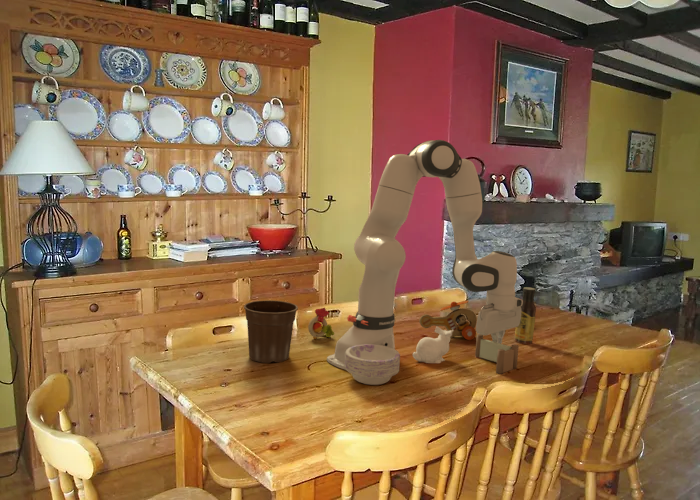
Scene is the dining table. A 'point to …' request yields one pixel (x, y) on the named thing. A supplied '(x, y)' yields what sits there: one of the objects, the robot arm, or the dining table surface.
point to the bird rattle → (317, 327)
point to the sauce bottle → (526, 318)
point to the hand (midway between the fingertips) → (497, 343)
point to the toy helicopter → (454, 321)
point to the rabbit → (433, 347)
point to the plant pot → (269, 329)
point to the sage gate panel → (488, 348)
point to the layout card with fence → (506, 359)
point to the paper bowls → (372, 363)
